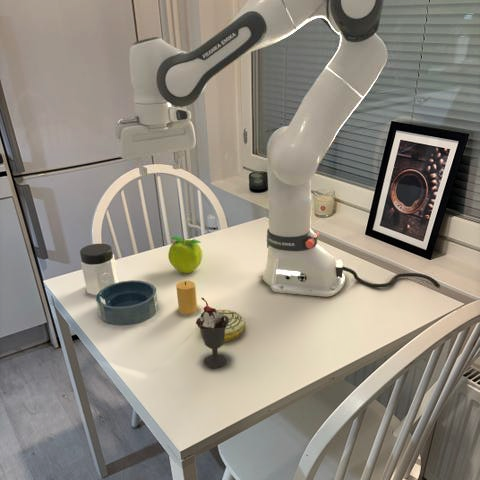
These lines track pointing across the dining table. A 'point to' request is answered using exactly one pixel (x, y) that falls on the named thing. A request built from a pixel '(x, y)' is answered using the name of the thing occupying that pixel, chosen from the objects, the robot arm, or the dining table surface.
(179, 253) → the fruit
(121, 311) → the bowl
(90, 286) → the jar
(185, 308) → the candle
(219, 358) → the sundae
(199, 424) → the dining table surface
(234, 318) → the decorated donut
